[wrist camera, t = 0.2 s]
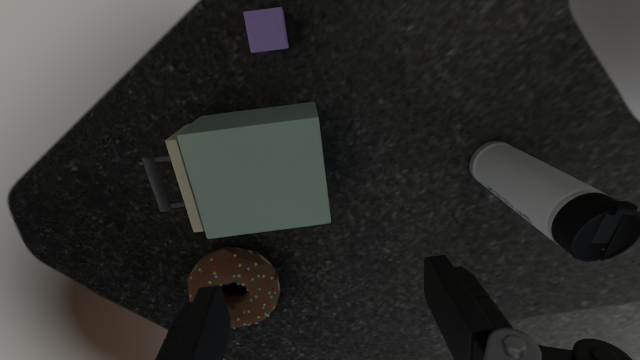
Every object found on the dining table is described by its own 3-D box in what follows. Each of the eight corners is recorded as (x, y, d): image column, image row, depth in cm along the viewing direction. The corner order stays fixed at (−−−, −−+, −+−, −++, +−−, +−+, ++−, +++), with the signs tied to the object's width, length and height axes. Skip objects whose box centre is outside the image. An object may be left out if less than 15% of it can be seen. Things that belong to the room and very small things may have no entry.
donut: (284, 307, 55) (282, 332, 51) (200, 312, 55) (191, 337, 50) (278, 234, 50) (276, 254, 45) (185, 239, 49) (173, 259, 44)
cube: (248, 14, 38) (243, 11, 34) (283, 9, 38) (281, 6, 34) (255, 51, 39) (250, 52, 36) (288, 47, 39) (287, 48, 36)
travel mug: (518, 138, 46) (664, 205, 27) (506, 181, 48) (632, 270, 30) (474, 137, 45) (593, 204, 27) (464, 181, 48) (567, 270, 30)
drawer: (178, 208, 46) (157, 237, 39) (152, 128, 41) (123, 145, 35) (305, 191, 46) (306, 217, 39) (293, 110, 42) (292, 124, 35)
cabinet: (223, 203, 47) (207, 239, 39) (200, 116, 42) (176, 135, 34) (325, 190, 47) (331, 223, 39) (314, 101, 42) (318, 117, 34)
